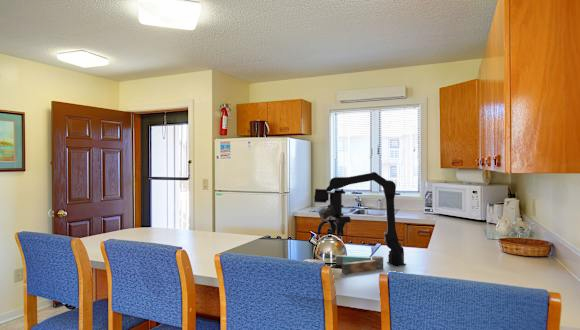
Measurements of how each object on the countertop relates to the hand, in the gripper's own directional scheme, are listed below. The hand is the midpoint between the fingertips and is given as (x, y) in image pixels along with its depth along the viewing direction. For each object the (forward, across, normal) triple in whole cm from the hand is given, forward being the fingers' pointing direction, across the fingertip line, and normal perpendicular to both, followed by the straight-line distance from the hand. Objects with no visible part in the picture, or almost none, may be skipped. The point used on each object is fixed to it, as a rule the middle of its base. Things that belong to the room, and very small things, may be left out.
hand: (335, 234), depth 184 cm
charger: (+14, +15, -20) cm, 28 cm away
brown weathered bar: (+13, +10, +4) cm, 17 cm away
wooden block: (+13, +18, +4) cm, 22 cm away
